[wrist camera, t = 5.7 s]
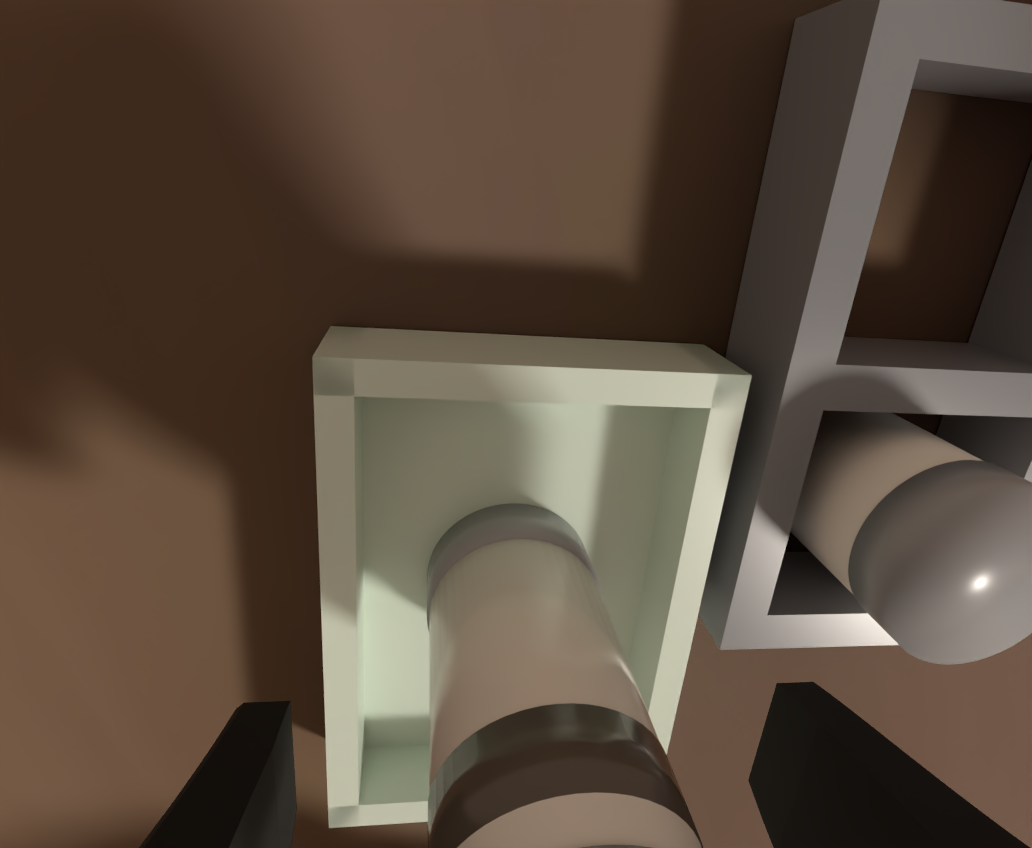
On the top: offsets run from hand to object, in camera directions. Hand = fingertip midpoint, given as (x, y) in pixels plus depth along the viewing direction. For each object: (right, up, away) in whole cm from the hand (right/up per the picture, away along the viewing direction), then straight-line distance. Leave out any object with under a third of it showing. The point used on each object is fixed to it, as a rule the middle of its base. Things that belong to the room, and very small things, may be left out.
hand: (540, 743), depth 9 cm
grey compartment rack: (+7, +6, +3) cm, 10 cm away
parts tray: (-1, +2, +4) cm, 5 cm away
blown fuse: (0, +2, +4) cm, 4 cm away
